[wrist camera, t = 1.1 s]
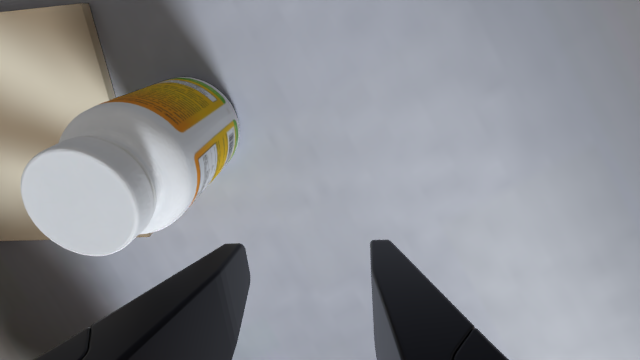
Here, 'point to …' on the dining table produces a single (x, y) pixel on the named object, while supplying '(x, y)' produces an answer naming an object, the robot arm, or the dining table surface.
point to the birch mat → (43, 95)
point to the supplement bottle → (130, 165)
